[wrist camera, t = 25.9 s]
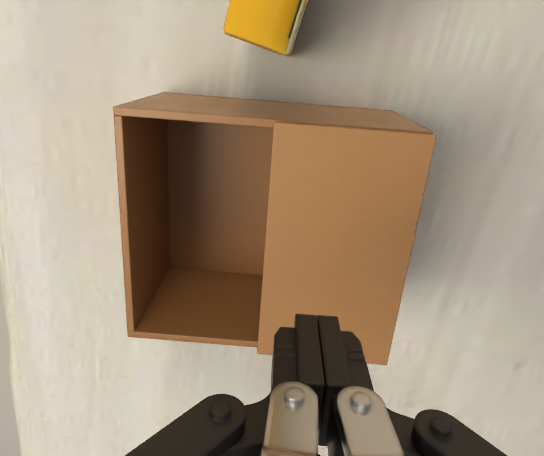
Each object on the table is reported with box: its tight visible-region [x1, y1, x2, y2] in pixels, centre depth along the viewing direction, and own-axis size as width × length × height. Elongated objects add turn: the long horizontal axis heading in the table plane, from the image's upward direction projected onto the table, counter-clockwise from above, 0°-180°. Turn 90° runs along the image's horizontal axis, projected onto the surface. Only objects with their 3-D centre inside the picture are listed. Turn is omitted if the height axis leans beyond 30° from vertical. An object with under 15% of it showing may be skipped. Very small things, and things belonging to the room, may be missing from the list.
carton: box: [113, 92, 433, 347], centre depth 26 cm, size 15×13×8 cm
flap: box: [257, 122, 436, 365], centre depth 22 cm, size 7×13×1 cm, turn 176°
